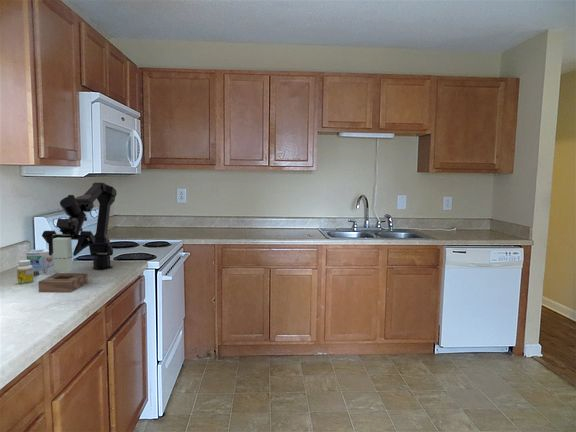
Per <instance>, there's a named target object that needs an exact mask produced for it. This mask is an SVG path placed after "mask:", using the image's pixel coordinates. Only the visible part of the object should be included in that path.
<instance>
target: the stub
mask: <svg viewBox="0 0 576 432" xmlns="http://www.w3.org/2000/svg"><path fill="white" fill-rule="evenodd" d="M72 244H73V243H72V240H71V237H58V238H54V239H53V257H54V271H58V272H68V271H70V270H72V269H73V268H74V267H73V251H72V250H73V247H72V246H73V245H72Z"/></svg>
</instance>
